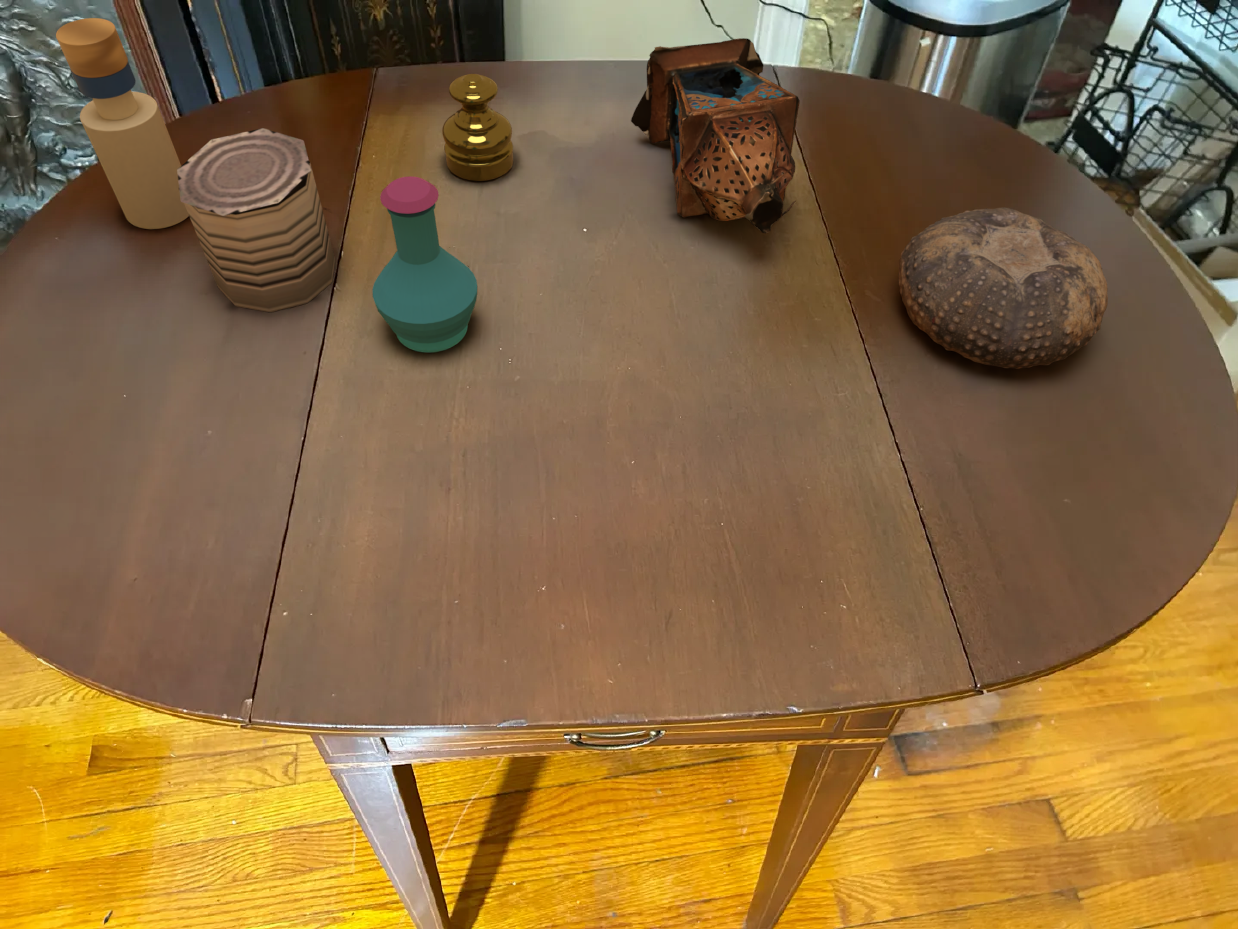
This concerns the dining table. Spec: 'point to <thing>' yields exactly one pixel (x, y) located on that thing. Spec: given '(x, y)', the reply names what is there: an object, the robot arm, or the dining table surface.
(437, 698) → the dining table surface
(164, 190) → the cream bottle
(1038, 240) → the sea urchin shell
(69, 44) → the tan short cylinder
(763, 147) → the lantern
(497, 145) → the brass weight
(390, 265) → the perfume bottle
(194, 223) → the can
